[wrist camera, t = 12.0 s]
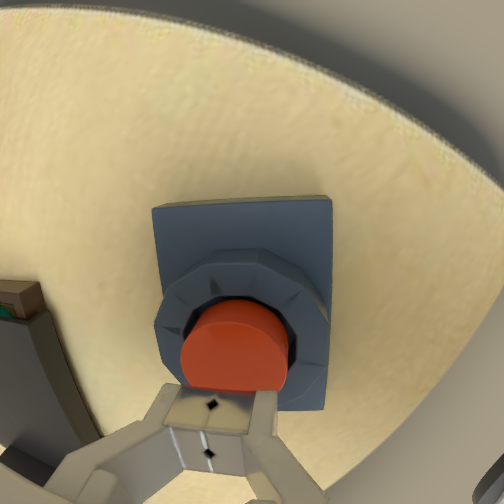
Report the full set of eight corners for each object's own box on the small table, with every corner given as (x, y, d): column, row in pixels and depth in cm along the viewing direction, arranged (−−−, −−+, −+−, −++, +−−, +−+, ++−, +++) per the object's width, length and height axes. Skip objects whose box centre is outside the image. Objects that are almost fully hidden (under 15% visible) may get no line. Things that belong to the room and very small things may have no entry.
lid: (124, 480, 20) (103, 522, 15) (7, 430, 22) (-16, 456, 17) (49, 310, 16) (-8, 350, 11) (-55, 293, 18) (-92, 313, 13)
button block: (322, 389, 15) (325, 436, 12) (194, 386, 16) (174, 429, 13) (327, 194, 13) (340, 205, 9) (166, 203, 14) (128, 215, 10)
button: (288, 379, 12) (287, 409, 10) (200, 376, 12) (189, 404, 11) (288, 298, 11) (287, 321, 9) (188, 298, 11) (171, 320, 10)
